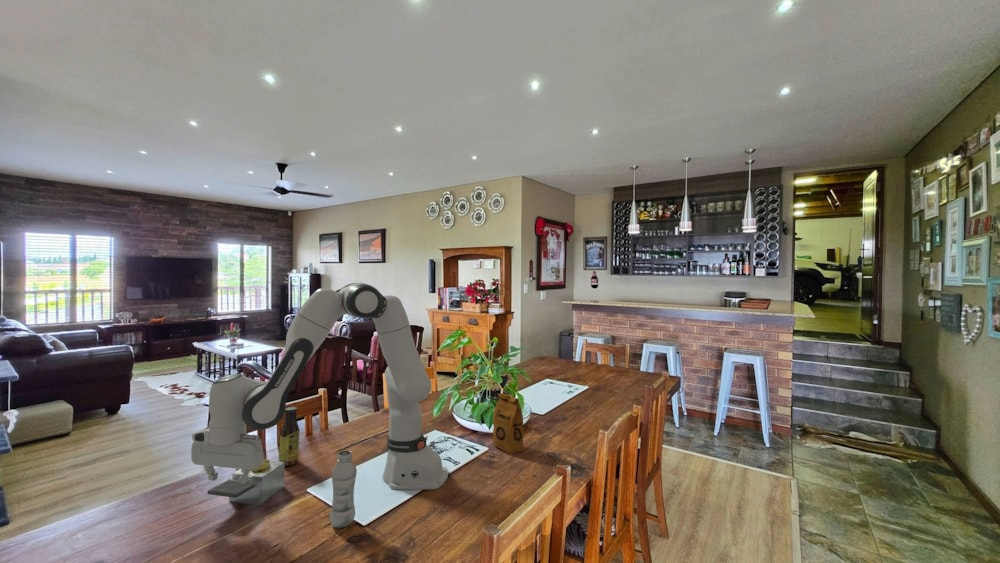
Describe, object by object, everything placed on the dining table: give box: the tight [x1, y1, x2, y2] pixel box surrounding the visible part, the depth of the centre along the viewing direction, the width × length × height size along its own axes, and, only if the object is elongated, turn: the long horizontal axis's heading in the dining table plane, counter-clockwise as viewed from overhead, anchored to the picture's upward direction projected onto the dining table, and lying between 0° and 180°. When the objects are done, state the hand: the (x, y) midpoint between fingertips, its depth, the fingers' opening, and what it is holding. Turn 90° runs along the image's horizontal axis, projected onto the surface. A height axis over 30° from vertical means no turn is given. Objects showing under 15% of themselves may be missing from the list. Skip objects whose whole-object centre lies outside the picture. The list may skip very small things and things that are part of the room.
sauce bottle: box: [278, 406, 301, 467], centre depth 148 cm, size 7×6×20 cm
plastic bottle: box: [329, 450, 358, 529], centre depth 114 cm, size 6×7×20 cm
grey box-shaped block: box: [228, 459, 285, 506], centre depth 127 cm, size 10×11×8 cm
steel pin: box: [251, 458, 271, 472], centre depth 128 cm, size 5×5×9 cm
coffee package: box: [492, 392, 525, 456], centre depth 167 cm, size 10×12×22 cm
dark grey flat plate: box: [207, 478, 258, 498], centre depth 118 cm, size 9×8×1 cm
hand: (227, 481), depth 115 cm, fingers open, 8 cm apart
